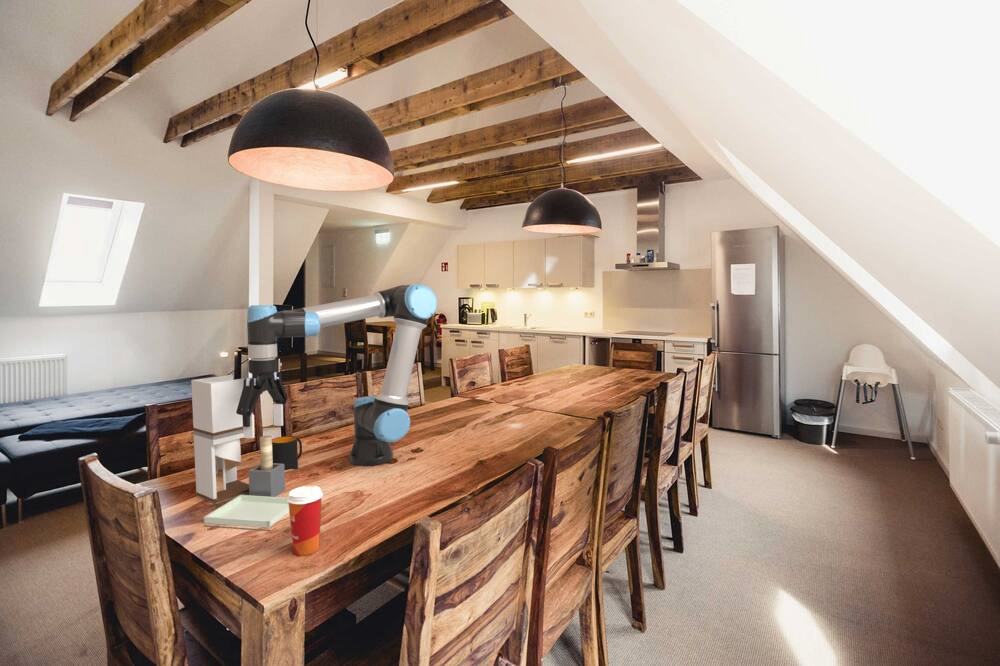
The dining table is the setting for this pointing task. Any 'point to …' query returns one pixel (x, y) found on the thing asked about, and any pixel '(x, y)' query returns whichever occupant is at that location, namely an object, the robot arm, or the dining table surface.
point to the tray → (249, 512)
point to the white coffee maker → (217, 437)
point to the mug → (286, 451)
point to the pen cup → (267, 481)
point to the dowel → (266, 453)
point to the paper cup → (305, 519)
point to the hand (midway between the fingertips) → (264, 431)
